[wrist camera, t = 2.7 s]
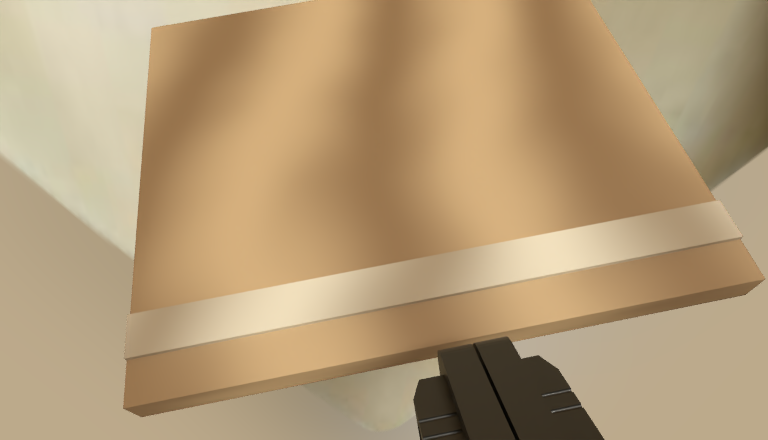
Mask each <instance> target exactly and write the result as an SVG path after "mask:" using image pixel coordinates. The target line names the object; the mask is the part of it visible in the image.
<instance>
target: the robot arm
mask: <svg viewBox="0 0 768 440" xmlns="http://www.w3.org/2000/svg"><path fill="white" fill-rule="evenodd" d="M437 354H438V363H439V370H440V376H436V377H431V378H426V379H421V380H419V382H418V385H417V389H416V392H415V396H414V399H413V400H414V406H415V412H416V417H417V423H418V429H419V435H420V440H604V438H603V437H602V435H601V434H600V432H599V431H598V429H597V428H596V426H595V425H594V423H593V421H592V420H591V418H590V417H589V415H588V414H587V412H586V411H585V409H584V408H582V406H581V403H580V402H579V400H578V399H577V397H576V396H575V394H574V392H572V391H571V388H570V386H569V385H568V383H567V382H566V380H565V379H564V377H563V376H562V374H561V373H560V371H559V369H557V368H556V367H554V366H553V365H551V364H550V363H549V362H547V361H546V360H544V359H543V358H541V357H540V356H533V357H528V358H523V359H521V358H520V356H519V355H518V352H517V351H516V349H515V347H514V345H513V344H512V342H511V340H510V339H509V337H507V336H505V337H500V338H495V339H490V340H485V341H480V342H476V343H473V345H472V344H466V345H462V346H457V347H452V348H447V349H442V350H438V351H437Z"/></svg>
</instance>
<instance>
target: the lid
mask: <svg viewBox="0 0 768 440" xmlns="http://www.w3.org/2000/svg"><path fill="white" fill-rule="evenodd" d="M742 237H743V235H742V234H741V232H740V231H739V229H738V227H737V226H736V224H735V223H734V221H733V220H732V218H731V216H730V215H729V213H728V212H727V210H726V209H725V207H724V205H723V204H722V203H721V201H720V200H717V201H716V200H715V198H714V197H713V195H712V193H711V192H710V190H709V189H708V187H707V185H706V184H705V182H704V181H703V179H702V177H701V176H700V174H699V173H698V171H697V170H696V168H695V166H694V165H693V163H692V162H691V160H690V158H689V157H688V155H687V154H686V152H685V150H684V149H683V147H682V146H681V144H680V142H679V141H678V139H677V138H676V136H675V135H674V133H673V131H672V130H671V128H670V127H669V125H668V123H667V122H666V120H665V119H664V117H663V115H662V114H661V112H660V111H659V109H658V107H657V106H656V104H655V103H654V101H653V100H652V98H651V96H650V95H649V93H648V92H647V90H646V88H645V87H644V85H643V84H642V82H641V80H640V79H639V77H638V76H637V74H636V72H635V71H634V69H633V68H632V66H631V65H630V63H629V61H628V60H627V58H626V57H625V55H624V53H623V52H622V50H621V49H620V47H619V45H618V44H617V42H616V41H615V39H614V37H613V36H612V34H611V33H610V31H609V30H608V28H607V26H606V25H605V23H604V22H603V20H602V18H601V17H600V15H599V14H598V12H597V10H596V9H595V7H594V6H593V4H592V2H591V1H590V0H313V1H307V2H301V3H295V4H290V5H284V6H278V7H272V8H266V9H260V10H254V11H248V12H243V13H237V14H231V15H225V16H219V17H213V18H207V19H201V20H196V21H190V22H184V23H178V24H172V25H166V26H160V27H154V28H152V31H151V44H150V58H149V71H148V84H147V98H146V111H145V124H144V138H143V151H142V164H141V178H140V191H139V205H138V218H137V231H136V245H135V258H134V272H133V285H132V299H131V311H130V314H128V315H127V327H126V340H125V353H124V359H125V360H127V366H126V378H125V392H124V405H123V409H126V410H128V411H130V412H132V413H134V414H136V415H138V416H140V417H145V416H149V415H154V414H159V413H164V412H169V411H174V410H179V409H184V408H189V407H194V406H199V405H204V404H209V403H213V402H218V401H223V400H229V399H234V398H239V397H243V396H248V395H253V394H258V393H263V392H268V391H273V390H277V389H283V388H288V387H293V386H298V385H303V384H308V383H313V382H317V381H322V380H327V379H332V378H337V377H342V376H347V375H352V374H357V373H362V372H367V371H372V370H377V369H382V368H387V367H392V366H396V365H401V364H406V363H411V362H416V361H421V360H426V359H431V358H436V357H438V354H437V351H438V350H442V349H447V348H452V347H457V346H462V345H466V344H472V345H473V343H476V342H480V341H485V340H490V339H495V338H500V337H505V336H507V337H509V339H510V340H511V342H515V341H520V340H525V339H530V338H535V337H539V336H545V335H549V334H554V333H559V332H564V331H569V330H573V329H579V328H584V327H588V326H594V325H599V324H603V323H609V322H614V321H618V320H623V319H628V318H633V317H638V316H643V315H648V314H653V313H658V312H663V311H668V310H673V309H678V308H683V307H688V306H692V305H698V304H702V303H707V302H712V301H717V300H722V299H727V298H732V297H737V296H742V295H746V294H747V293H748V292H749V291H751V290H752V289H753V288H755V287H756V286H757V285H758V284H760V283H761V282H762V281H763V280H765V278H764V276H763V274H762V273H761V272H760V270H759V268H758V267H757V265H756V263H755V262H754V260H753V259H752V257H751V255H750V254H749V252H748V251H747V249H746V247H745V246H744V244H743V243H742V241H741V238H742Z"/></svg>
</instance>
